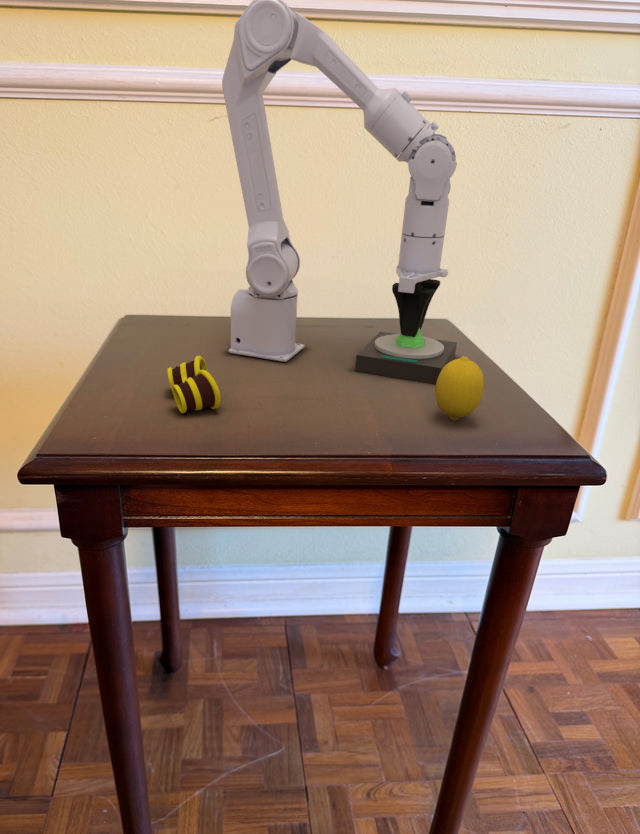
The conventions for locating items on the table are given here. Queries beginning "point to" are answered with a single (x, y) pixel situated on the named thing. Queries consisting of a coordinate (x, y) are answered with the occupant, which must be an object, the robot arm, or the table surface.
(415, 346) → the game piece
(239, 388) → the table surface
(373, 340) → the scale
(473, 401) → the lemon
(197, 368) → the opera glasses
